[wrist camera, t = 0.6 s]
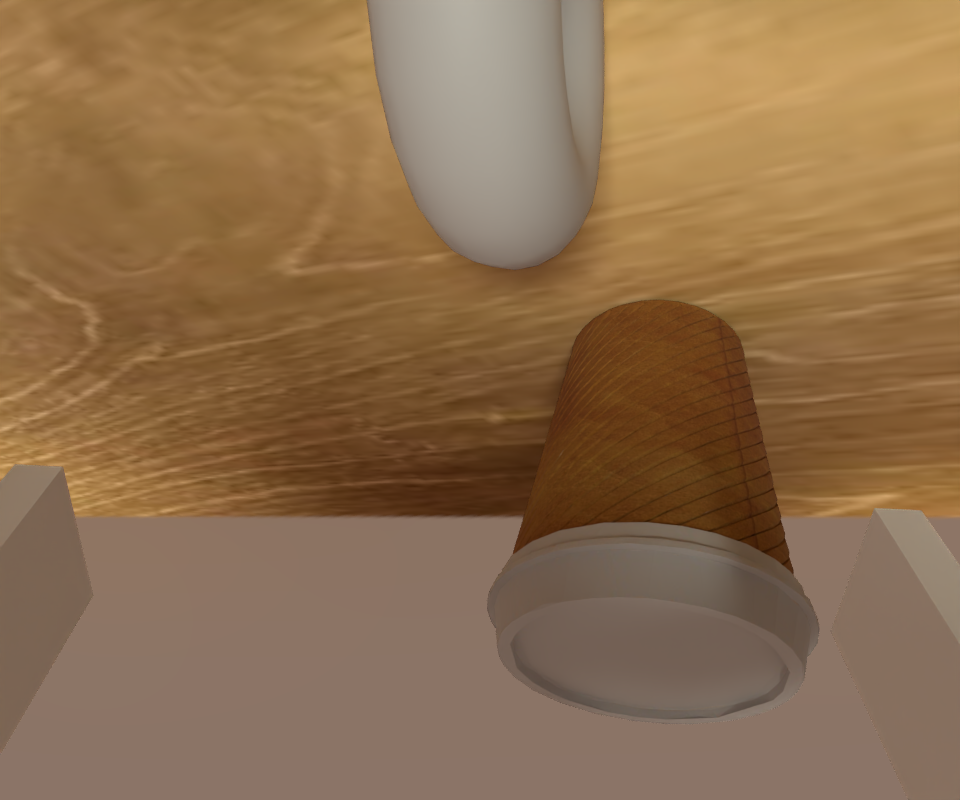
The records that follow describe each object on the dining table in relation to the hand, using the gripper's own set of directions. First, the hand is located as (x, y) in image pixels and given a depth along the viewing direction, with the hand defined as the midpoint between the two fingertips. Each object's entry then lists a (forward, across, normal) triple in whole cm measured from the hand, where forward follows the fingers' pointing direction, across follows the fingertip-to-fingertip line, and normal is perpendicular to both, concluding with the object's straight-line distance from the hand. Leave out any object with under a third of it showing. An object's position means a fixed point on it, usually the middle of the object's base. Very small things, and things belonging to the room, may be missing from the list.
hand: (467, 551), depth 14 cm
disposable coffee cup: (+18, +7, -5) cm, 20 cm away
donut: (+13, +1, +9) cm, 16 cm away
